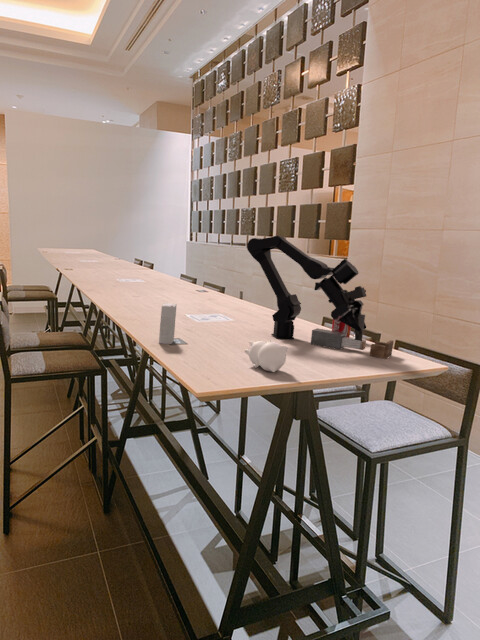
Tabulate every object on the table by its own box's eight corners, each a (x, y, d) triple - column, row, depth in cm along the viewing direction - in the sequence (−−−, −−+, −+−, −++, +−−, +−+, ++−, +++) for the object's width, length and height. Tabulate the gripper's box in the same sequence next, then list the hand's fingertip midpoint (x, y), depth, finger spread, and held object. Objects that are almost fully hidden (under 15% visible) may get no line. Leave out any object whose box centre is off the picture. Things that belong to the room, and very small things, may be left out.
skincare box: (160, 339, 156) (162, 302, 154) (174, 340, 156) (176, 303, 154) (158, 343, 149) (160, 305, 147) (172, 344, 150) (174, 306, 148)
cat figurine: (252, 330, 133) (279, 338, 123) (275, 348, 139) (303, 357, 129) (236, 357, 131) (263, 367, 122) (260, 374, 137) (288, 385, 128)
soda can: (349, 340, 179) (353, 309, 177) (330, 338, 180) (334, 307, 178) (349, 337, 185) (353, 306, 183) (331, 335, 187) (334, 304, 185)
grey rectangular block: (310, 344, 167) (312, 330, 166) (315, 342, 171) (317, 328, 171) (339, 349, 162) (341, 335, 161) (344, 347, 166) (345, 333, 165)
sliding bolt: (314, 341, 167) (318, 308, 165) (317, 340, 170) (321, 308, 168) (362, 350, 159) (366, 316, 157) (365, 348, 162) (369, 315, 160)
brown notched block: (369, 355, 156) (371, 340, 155) (375, 352, 162) (376, 337, 161) (386, 358, 153) (388, 343, 153) (391, 355, 159) (393, 340, 159)
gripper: (344, 278, 152) (375, 318, 148) (361, 277, 168) (388, 312, 164) (318, 300, 157) (347, 338, 153) (336, 296, 173) (363, 331, 169)
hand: (362, 329), depth 160 cm, fingers open, 6 cm apart
